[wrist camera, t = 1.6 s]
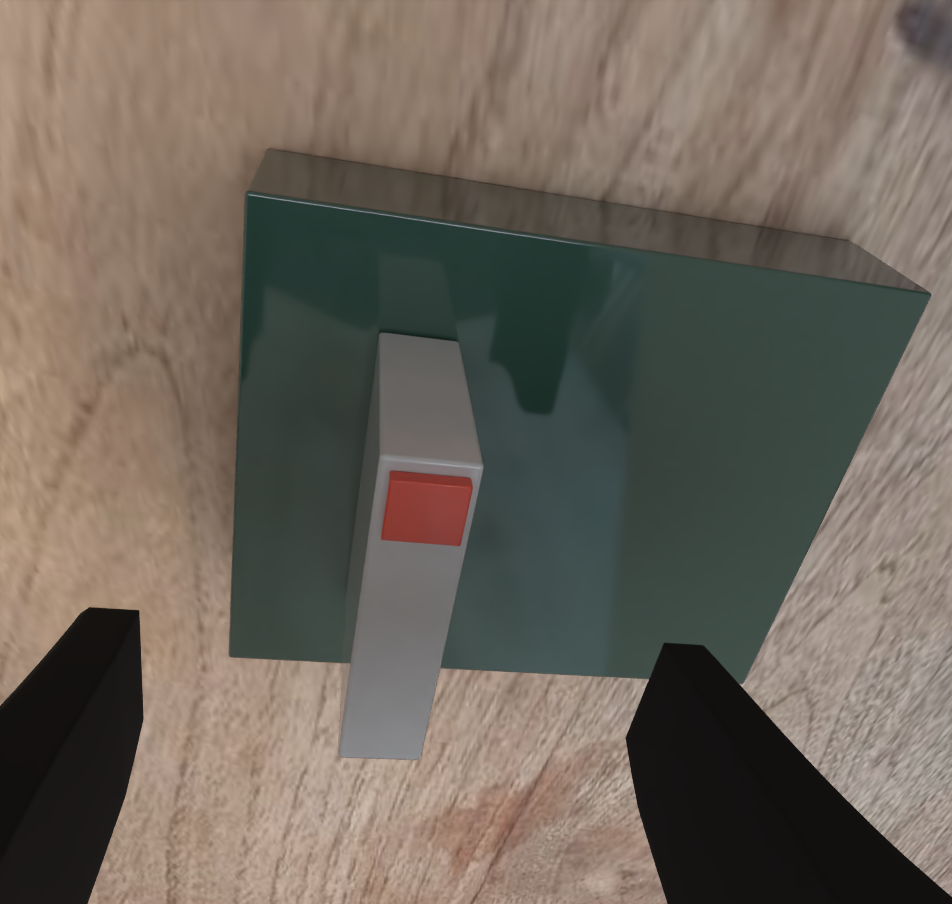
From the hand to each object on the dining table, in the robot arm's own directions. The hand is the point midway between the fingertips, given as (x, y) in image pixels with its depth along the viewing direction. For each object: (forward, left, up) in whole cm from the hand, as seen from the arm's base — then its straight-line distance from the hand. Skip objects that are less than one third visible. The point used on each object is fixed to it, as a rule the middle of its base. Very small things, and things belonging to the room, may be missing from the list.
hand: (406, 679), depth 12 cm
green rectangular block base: (+3, 0, -8) cm, 9 cm away
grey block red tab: (0, 0, -5) cm, 5 cm away
